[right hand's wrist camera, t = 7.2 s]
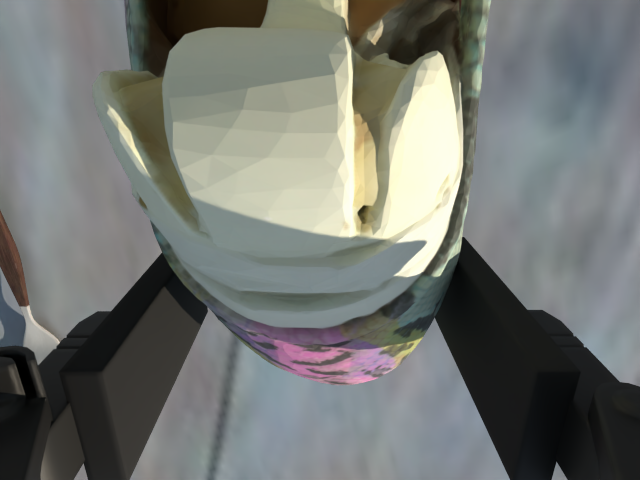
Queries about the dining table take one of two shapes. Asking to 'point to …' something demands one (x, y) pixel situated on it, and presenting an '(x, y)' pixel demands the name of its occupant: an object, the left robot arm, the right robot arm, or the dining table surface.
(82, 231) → the dining table surface
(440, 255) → the shoe
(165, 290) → the right robot arm
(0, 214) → the fork
